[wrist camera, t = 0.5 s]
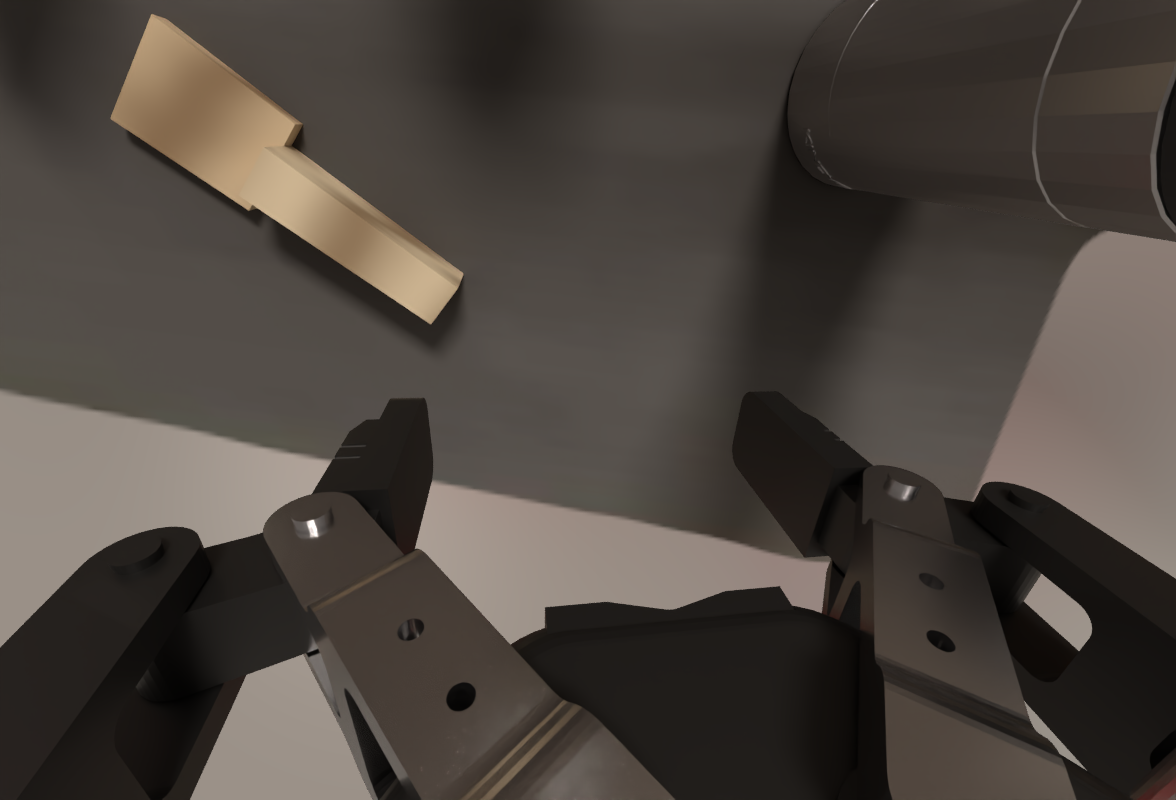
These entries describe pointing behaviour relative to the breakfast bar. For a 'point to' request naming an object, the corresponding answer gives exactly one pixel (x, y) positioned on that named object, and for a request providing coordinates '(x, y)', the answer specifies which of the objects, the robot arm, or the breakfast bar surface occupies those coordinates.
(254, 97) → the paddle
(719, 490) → the breakfast bar surface
